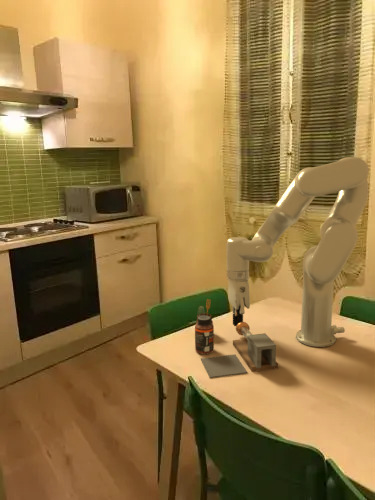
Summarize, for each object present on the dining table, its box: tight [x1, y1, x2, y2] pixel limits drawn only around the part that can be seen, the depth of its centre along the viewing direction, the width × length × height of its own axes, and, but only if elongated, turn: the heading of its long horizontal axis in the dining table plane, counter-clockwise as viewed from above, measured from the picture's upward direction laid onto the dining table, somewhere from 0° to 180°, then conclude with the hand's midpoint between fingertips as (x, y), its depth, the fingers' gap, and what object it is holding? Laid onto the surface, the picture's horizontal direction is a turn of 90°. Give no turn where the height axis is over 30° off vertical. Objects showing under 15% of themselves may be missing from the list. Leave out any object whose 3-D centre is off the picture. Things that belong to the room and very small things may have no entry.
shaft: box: [235, 321, 254, 340], centre depth 125 cm, size 15×4×4 cm, turn 11°
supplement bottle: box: [194, 315, 215, 355], centre depth 125 cm, size 6×6×11 cm
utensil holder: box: [195, 298, 214, 325], centre depth 137 cm, size 6×6×12 cm
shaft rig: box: [232, 332, 279, 373], centre depth 121 cm, size 19×8×8 cm, turn 11°
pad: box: [200, 354, 248, 379], centre depth 116 cm, size 11×11×1 cm
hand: (237, 325), depth 137 cm, fingers closed
